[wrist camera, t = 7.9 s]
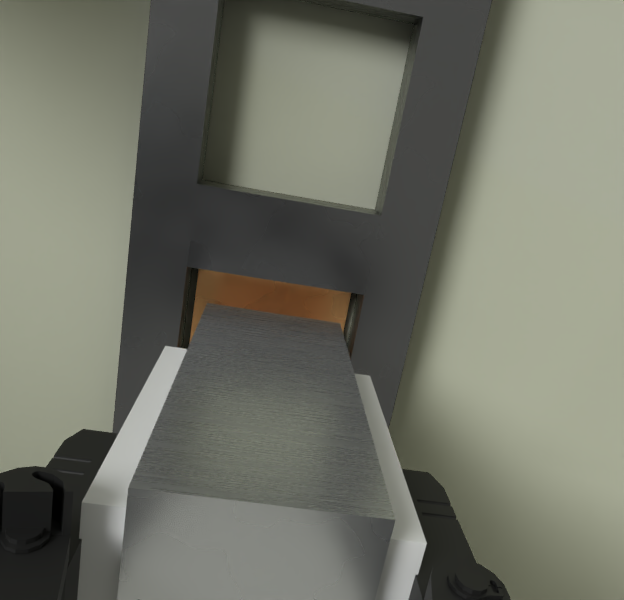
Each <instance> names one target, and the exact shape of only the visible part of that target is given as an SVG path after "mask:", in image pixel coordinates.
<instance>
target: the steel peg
mask: <svg viewBox="0 0 624 600" xmlns="http://www.w3.org/2000/svg"><path fill="white" fill-rule="evenodd" d="M394 524H395V517H394V513H393V509H392V506H391V502H390V499H389V495H388V492H387V488H386V485H385V481H384V477H383V474H382V470H381V467H380V463H379V460H378V456H377V452H376V449H375V445H374V442H373V438H372V435H371V431H370V428H369V424H368V420H367V417H366V413H365V410H364V406H363V403H362V399H361V396H360V392H359V388H358V385H357V381H356V378H355V374H354V371H353V367H352V363H351V360H350V356H349V353H348V349H347V346H346V342H345V339H344V335H343V331H342V328H341V324H340V323H336V322H329V321H323V320H316V319H310V318H303V317H297V316H290V315H284V314H277V313H271V312H264V311H258V310H251V309H245V308H238V307H232V306H225V305H219V304H212V303H207V304H206V307H205V309H204V311H203V314H202V316H201V318H200V321H199V323H198V325H197V328H196V330H195V332H194V335H193V337H192V339H191V342H190V344H189V346H188V349H187V351H186V353H185V356H184V358H183V360H182V363H181V365H180V367H179V370H178V372H177V374H176V377H175V379H174V382H173V384H172V386H171V389H170V391H169V393H168V396H167V398H166V400H165V403H164V405H163V407H162V410H161V412H160V414H159V417H158V419H157V421H156V424H155V426H154V428H153V431H152V433H151V435H150V438H149V440H148V442H147V445H146V447H145V449H144V452H143V454H142V456H141V459H140V461H139V463H138V466H137V468H136V471H135V473H134V475H133V478H132V480H131V482H130V485H129V487H128V495H127V505H126V514H125V524H124V534H123V544H122V554H121V564H120V574H119V584H118V594H117V600H375V597H376V594H377V590H378V586H379V582H380V578H381V574H382V570H383V566H384V563H385V559H386V555H387V551H388V547H389V543H390V539H391V536H392V532H393V528H394Z"/></svg>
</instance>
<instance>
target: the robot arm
mask: <svg viewBox="0 0 624 600" xmlns="http://www.w3.org/2000/svg"><path fill="white" fill-rule="evenodd" d="M186 351H187V349H183V348H177V347H170V346H165V348H164V349H163V351H162V353H161V355H160V357H159V359H158V361H157V362H156V364H155V366H154V368H153V370H152V372H151V374H150V376H149V377H148V379H147V381H146V383H145V385H144V387H143V389H142V391H141V392H140V394H139V396H138V398H137V400H136V402H135V404H134V405H133V407H132V409H131V411H130V413H129V415H128V417H127V419H126V420H125V422H124V424H123V426H122V428H121V430H120V432H119V434H117V433H109V432H102V431H94V430H86V429H83V430H81V431H79V432H78V433H76V434H74V435H73V436H71V437H69V438H68V439H66V440H64V442H63V443H62V445H61V446H60V448H59V449H58V451H57V452H56V453H55V455H54V458H52V459H51V461H50V462H49V464H48V465H47V466H46V468H45V467H37V466H33V467H23V468H16V469H13V470H9V471H6V472H3V473H0V600H117V594H118V584H119V574H120V564H121V554H122V544H123V534H124V524H125V514H126V505H127V495H128V487H129V485H130V482H131V480H132V478H133V475H134V473H135V471H136V468H137V466H138V463H139V461H140V459H141V456H142V454H143V452H144V449H145V447H146V445H147V442H148V440H149V438H150V435H151V433H152V431H153V428H154V426H155V424H156V421H157V419H158V417H159V414H160V412H161V410H162V407H163V405H164V403H165V400H166V398H167V396H168V393H169V391H170V389H171V386H172V384H173V382H174V379H175V377H176V374H177V372H178V370H179V367H180V365H181V363H182V360H183V358H184V356H185V353H186ZM354 374H355V373H354ZM355 378H356V381H357V385H358V388H359V392H360V396H361V399H362V403H363V406H364V410H365V413H366V417H367V420H368V424H369V428H370V431H371V435H372V438H373V442H374V445H375V449H376V452H377V456H378V460H379V463H380V467H381V470H382V474H383V477H384V481H385V485H386V488H387V492H388V495H389V499H390V502H391V506H392V509H393V513H394V517H395V524H394V528H393V532H392V536H391V539H390V543H389V547H388V551H387V555H386V559H385V563H384V566H383V570H382V574H381V578H380V582H379V586H378V590H377V594H376V597H375V600H510V596H509V594H508V592H507V590H506V588H505V586H504V584H503V583H502V582H501V581H500V580H499V579H498V578H497V577H496V575H495V574H494V573H492V572H491V571H489V570H488V569H486V568H485V567H483V566H482V565H480V564H477V563H476V561H475V559H474V556H473V554H472V552H471V549H470V547H469V545H468V543H467V540H466V538H465V536H464V533H463V531H462V529H461V526H460V524H459V522H458V520H456V515H455V513H454V510H453V508H452V507H451V506H450V501H449V499H448V497H447V494H446V492H445V490H444V488H443V487H442V486H441V485H440V484H439V483H438V482H437V481H436V480H435V478H434V477H433V476H432V475H431V474H430V473H428V472H420V471H412V470H405V469H401V466H400V463H399V460H398V457H397V454H396V451H395V448H394V445H393V442H392V439H391V436H390V433H389V430H388V427H387V424H386V421H385V418H384V415H383V413H382V410H381V407H380V404H379V401H378V398H377V395H376V392H375V389H374V386H373V383H372V380H371V377H370V376H368V375H362V374H355Z"/></svg>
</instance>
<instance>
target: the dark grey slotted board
mask: <svg viewBox="0 0 624 600" xmlns="http://www.w3.org/2000/svg"><path fill="white" fill-rule="evenodd" d="M300 1H304V2H309V3H314V4H319V5H324V6H328V7H333V8H338V9H343V10H348V11H353V12H357V13H362V14H367V15H372V16H377V17H382V18H386V19H391V20H396V21H401V22H406V23H410V24H414V26H413V31H412V36H411V40H410V45H409V50H408V55H407V60H406V64H405V69H404V74H403V79H402V84H401V88H400V93H399V98H398V103H397V107H396V112H395V117H394V122H393V127H392V131H391V136H390V141H389V146H388V151H387V155H386V160H385V165H384V170H383V175H382V179H381V184H380V189H379V194H378V199H377V203H376V208H375V210H372V209H366V208H360V207H354V206H349V205H343V204H337V203H331V202H326V201H320V200H314V199H308V198H302V197H297V196H291V195H285V194H279V193H274V192H268V191H262V190H256V189H251V188H245V187H239V186H233V185H228V184H222V183H216V182H210V181H205V180H202V179H203V170H204V162H205V154H206V146H207V138H208V129H209V121H210V113H211V105H212V96H213V88H214V80H215V72H216V64H217V55H218V47H219V39H220V31H221V22H222V14H223V6H224V0H151V6H150V17H149V29H148V40H147V51H146V62H145V74H144V85H143V96H142V107H141V119H140V130H139V141H138V152H137V164H136V175H135V186H134V197H133V209H132V220H131V231H130V242H129V254H128V265H127V276H126V288H125V299H124V310H123V321H122V333H121V344H120V355H119V366H118V378H117V389H116V400H115V411H114V423H113V433H117V434H119V432H120V430H121V428H122V426H123V424H124V422H125V420H126V419H127V417H128V415H129V413H130V411H131V409H132V407H133V405H134V404H135V402H136V400H137V398H138V396H139V394H140V392H141V391H142V389H143V387H144V385H145V383H146V381H147V379H148V377H149V376H150V374H151V372H152V370H153V368H154V366H155V364H156V362H157V361H158V359H159V357H160V355H161V353H162V351H163V349H164V348H165V346H170V347H177V348H182V343H183V335H184V327H185V319H186V310H187V302H188V294H189V286H190V277H191V269H192V268H198V269H199V271H198V279H197V287H196V295H195V303H194V311H193V319H192V327H191V335H190V342H191V339H192V337H193V335H194V332H195V330H196V328H197V325H198V323H199V321H200V318H201V316H202V314H203V311H204V309H205V307H206V304H207V303H212V304H219V305H225V306H232V307H238V308H245V309H251V310H258V311H264V312H271V313H277V314H284V315H290V316H297V317H303V318H310V319H316V320H323V321H329V322H336V323H340V324H341V328H342V331H344V326H345V321H346V316H347V311H348V306H349V301H350V297H351V293H355V294H357V299H356V304H355V309H354V314H353V318H352V323H351V328H350V333H349V337H348V342H347V349H348V353H349V356H350V360H351V363H352V367H353V371H354V373H355V374H362V375H368V376H370V377H371V380H372V383H373V386H374V389H375V392H376V395H377V398H378V401H379V404H380V407H381V410H382V413H383V415H384V418H385V421H386V424H387V427H388V429H389V425H390V420H391V416H392V412H393V408H394V404H395V400H396V396H397V391H398V387H399V383H400V379H401V375H402V371H403V367H404V362H405V358H406V354H407V350H408V346H409V342H410V338H411V333H412V329H413V325H414V321H415V317H416V313H417V309H418V304H419V300H420V296H421V292H422V288H423V284H424V280H425V275H426V271H427V267H428V263H429V259H430V255H431V251H432V246H433V242H434V238H435V234H436V230H437V226H438V222H439V217H440V213H441V209H442V205H443V201H444V197H445V193H446V188H447V184H448V180H449V176H450V172H451V168H452V164H453V159H454V155H455V151H456V147H457V143H458V139H459V135H460V130H461V126H462V122H463V118H464V114H465V110H466V106H467V101H468V97H469V93H470V89H471V85H472V81H473V77H474V72H475V68H476V64H477V60H478V56H479V52H480V48H481V43H482V39H483V35H484V31H485V27H486V23H487V19H488V14H489V10H490V6H491V2H492V0H300ZM189 344H190V343H189Z"/></svg>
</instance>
